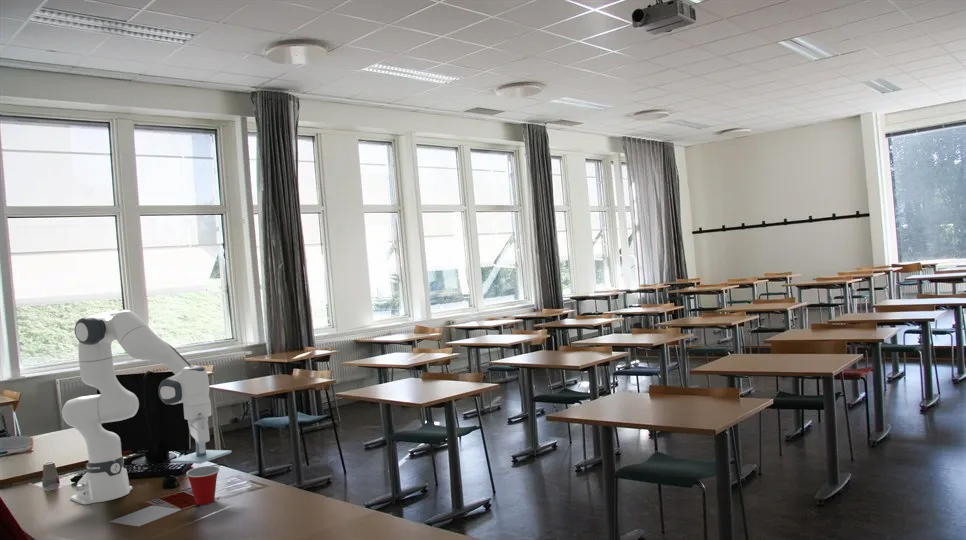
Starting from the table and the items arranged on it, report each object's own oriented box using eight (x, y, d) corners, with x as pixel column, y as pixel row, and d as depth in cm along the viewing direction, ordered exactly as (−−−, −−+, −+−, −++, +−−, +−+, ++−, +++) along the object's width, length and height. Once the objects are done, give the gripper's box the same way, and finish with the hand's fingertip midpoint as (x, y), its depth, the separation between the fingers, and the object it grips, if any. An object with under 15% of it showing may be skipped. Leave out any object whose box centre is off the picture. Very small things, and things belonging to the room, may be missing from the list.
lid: (170, 462, 236) (169, 448, 236) (202, 452, 249) (201, 438, 249) (200, 463, 230) (199, 449, 230) (231, 452, 243) (230, 439, 243)
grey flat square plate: (108, 523, 227) (108, 521, 227) (152, 507, 241) (152, 505, 241) (138, 528, 220) (138, 526, 220) (182, 511, 234) (182, 509, 234)
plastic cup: (199, 511, 232) (196, 475, 232) (182, 507, 238) (179, 472, 239) (228, 501, 241) (225, 466, 241) (211, 497, 247) (208, 464, 247)
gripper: (212, 414, 233) (215, 454, 232) (202, 407, 250) (206, 445, 250) (192, 417, 229) (195, 458, 229) (184, 410, 247) (187, 449, 247)
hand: (201, 451), depth 240 cm, fingers closed on lid, 3 cm apart
